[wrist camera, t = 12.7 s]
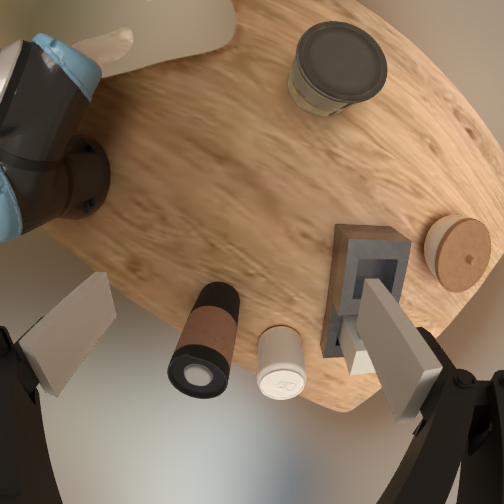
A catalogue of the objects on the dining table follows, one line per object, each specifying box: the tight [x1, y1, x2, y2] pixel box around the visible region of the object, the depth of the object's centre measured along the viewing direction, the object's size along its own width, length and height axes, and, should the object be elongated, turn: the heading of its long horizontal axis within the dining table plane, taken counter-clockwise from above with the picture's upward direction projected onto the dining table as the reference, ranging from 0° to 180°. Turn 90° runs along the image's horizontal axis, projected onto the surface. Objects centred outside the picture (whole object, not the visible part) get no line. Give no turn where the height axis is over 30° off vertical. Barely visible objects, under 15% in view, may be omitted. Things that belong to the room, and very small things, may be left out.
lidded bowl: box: [424, 215, 491, 292], centre depth 39 cm, size 13×13×11 cm
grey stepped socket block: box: [320, 224, 412, 358], centre depth 44 cm, size 10×24×8 cm, turn 0°
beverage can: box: [257, 326, 307, 400], centre depth 47 cm, size 8×8×12 cm
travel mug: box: [167, 282, 240, 399], centre depth 40 cm, size 8×8×20 cm
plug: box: [337, 316, 376, 375], centre depth 43 cm, size 5×6×11 cm
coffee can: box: [288, 21, 387, 117], centre depth 30 cm, size 10×10×14 cm
